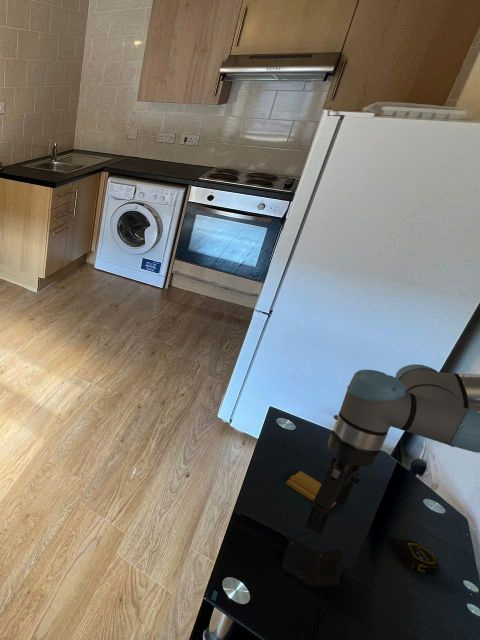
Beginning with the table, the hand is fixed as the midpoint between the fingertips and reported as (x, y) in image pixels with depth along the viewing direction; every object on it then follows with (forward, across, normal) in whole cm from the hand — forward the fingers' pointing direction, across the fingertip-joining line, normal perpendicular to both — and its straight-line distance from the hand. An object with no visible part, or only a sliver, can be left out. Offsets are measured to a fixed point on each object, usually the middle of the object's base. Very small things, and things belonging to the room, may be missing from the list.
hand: (325, 515), depth 92 cm
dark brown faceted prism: (+16, +1, +1) cm, 16 cm away
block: (+16, -27, -8) cm, 32 cm away
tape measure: (+16, -22, +13) cm, 31 cm away
